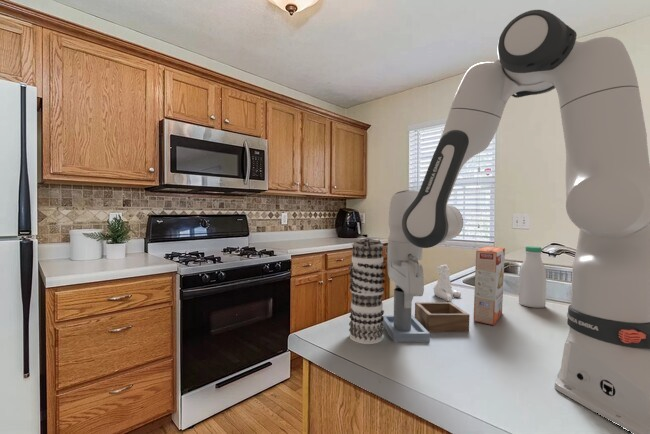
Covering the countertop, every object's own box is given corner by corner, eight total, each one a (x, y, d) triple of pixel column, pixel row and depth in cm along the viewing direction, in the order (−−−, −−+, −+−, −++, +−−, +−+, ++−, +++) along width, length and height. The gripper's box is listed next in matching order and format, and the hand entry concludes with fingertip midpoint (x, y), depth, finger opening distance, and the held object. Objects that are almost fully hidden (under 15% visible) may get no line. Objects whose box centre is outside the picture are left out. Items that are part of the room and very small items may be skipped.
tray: (429, 341, 78) (429, 333, 78) (393, 341, 78) (393, 333, 78) (412, 322, 91) (412, 315, 91) (381, 322, 91) (381, 315, 91)
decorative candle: (392, 338, 80) (394, 238, 79) (368, 348, 74) (369, 241, 73) (365, 327, 87) (366, 236, 86) (340, 336, 81) (341, 237, 80)
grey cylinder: (412, 331, 82) (412, 292, 82) (394, 330, 83) (394, 291, 82) (409, 325, 87) (410, 287, 86) (392, 324, 87) (393, 287, 87)
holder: (469, 331, 85) (469, 314, 85) (428, 331, 84) (428, 314, 84) (450, 317, 96) (451, 302, 96) (414, 317, 95) (415, 302, 95)
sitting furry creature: (449, 302, 111) (450, 268, 111) (427, 296, 118) (427, 264, 118) (462, 297, 118) (463, 265, 117) (440, 292, 124) (441, 261, 124)
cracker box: (495, 326, 89) (498, 251, 88) (472, 321, 92) (474, 249, 92) (504, 313, 100) (505, 247, 99) (482, 309, 103) (484, 245, 103)
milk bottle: (550, 308, 105) (552, 248, 105) (527, 308, 105) (529, 248, 105) (535, 301, 113) (537, 245, 112) (513, 301, 113) (515, 245, 112)
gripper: (431, 258, 74) (430, 317, 74) (405, 246, 94) (404, 293, 95) (404, 258, 73) (403, 317, 74) (384, 246, 94) (383, 293, 94)
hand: (403, 303), depth 85 cm, fingers closed on grey cylinder, 4 cm apart
